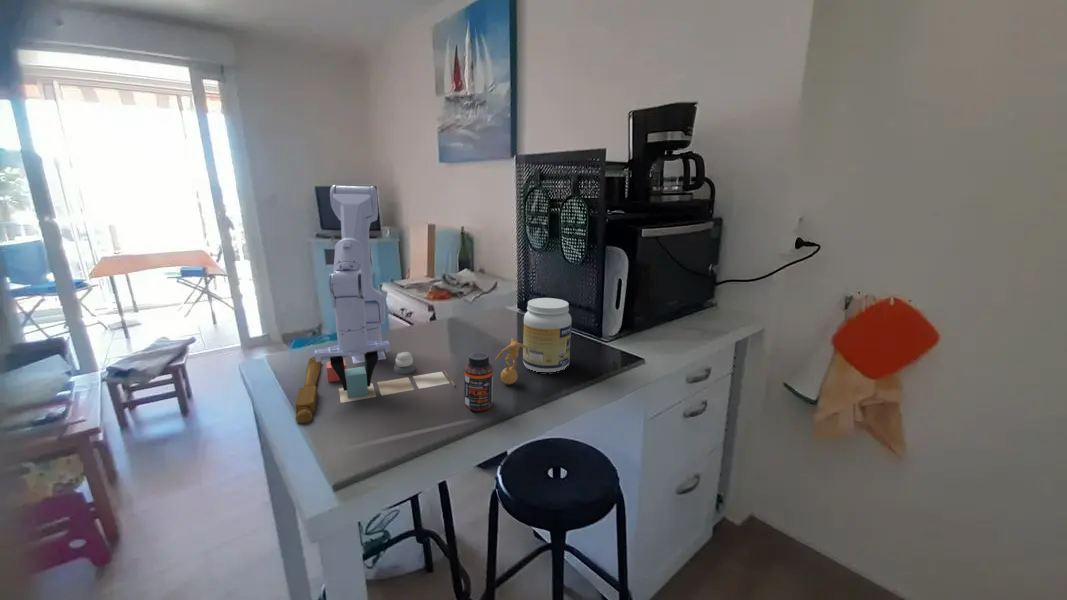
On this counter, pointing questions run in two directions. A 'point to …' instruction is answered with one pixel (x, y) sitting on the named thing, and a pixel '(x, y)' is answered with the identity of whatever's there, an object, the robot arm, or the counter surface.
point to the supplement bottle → (478, 382)
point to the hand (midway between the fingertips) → (356, 386)
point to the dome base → (404, 369)
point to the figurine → (510, 373)
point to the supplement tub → (547, 335)
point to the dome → (404, 359)
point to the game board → (400, 385)
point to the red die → (333, 372)
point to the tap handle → (308, 393)
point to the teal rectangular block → (356, 382)
